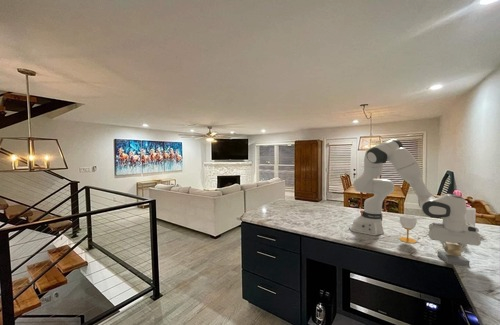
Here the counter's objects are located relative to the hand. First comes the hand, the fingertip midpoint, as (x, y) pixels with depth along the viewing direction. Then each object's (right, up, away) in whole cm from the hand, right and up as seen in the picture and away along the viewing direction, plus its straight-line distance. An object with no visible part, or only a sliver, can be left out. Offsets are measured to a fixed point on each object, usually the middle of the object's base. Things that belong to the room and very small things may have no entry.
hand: (452, 250), depth 112 cm
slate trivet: (0, -6, 0) cm, 6 cm away
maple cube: (0, -2, 0) cm, 2 cm away
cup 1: (-5, -5, +26) cm, 26 cm away
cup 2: (+50, -2, +41) cm, 65 cm away
